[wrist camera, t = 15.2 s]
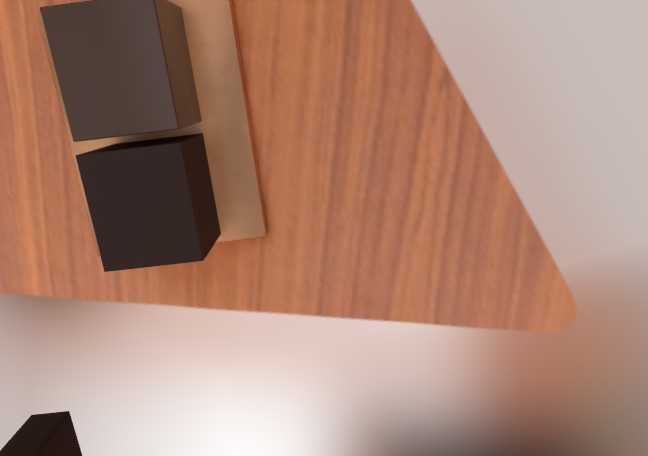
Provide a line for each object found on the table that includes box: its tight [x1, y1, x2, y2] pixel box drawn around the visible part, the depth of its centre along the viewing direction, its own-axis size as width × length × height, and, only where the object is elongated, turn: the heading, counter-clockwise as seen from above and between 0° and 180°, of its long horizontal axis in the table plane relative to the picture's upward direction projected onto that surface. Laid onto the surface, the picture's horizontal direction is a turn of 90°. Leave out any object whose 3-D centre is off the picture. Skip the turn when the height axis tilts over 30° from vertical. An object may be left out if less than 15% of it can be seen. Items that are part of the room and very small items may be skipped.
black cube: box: [76, 133, 221, 272], centre depth 32 cm, size 6×7×6 cm
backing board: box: [37, 0, 268, 256], centre depth 32 cm, size 12×16×7 cm
